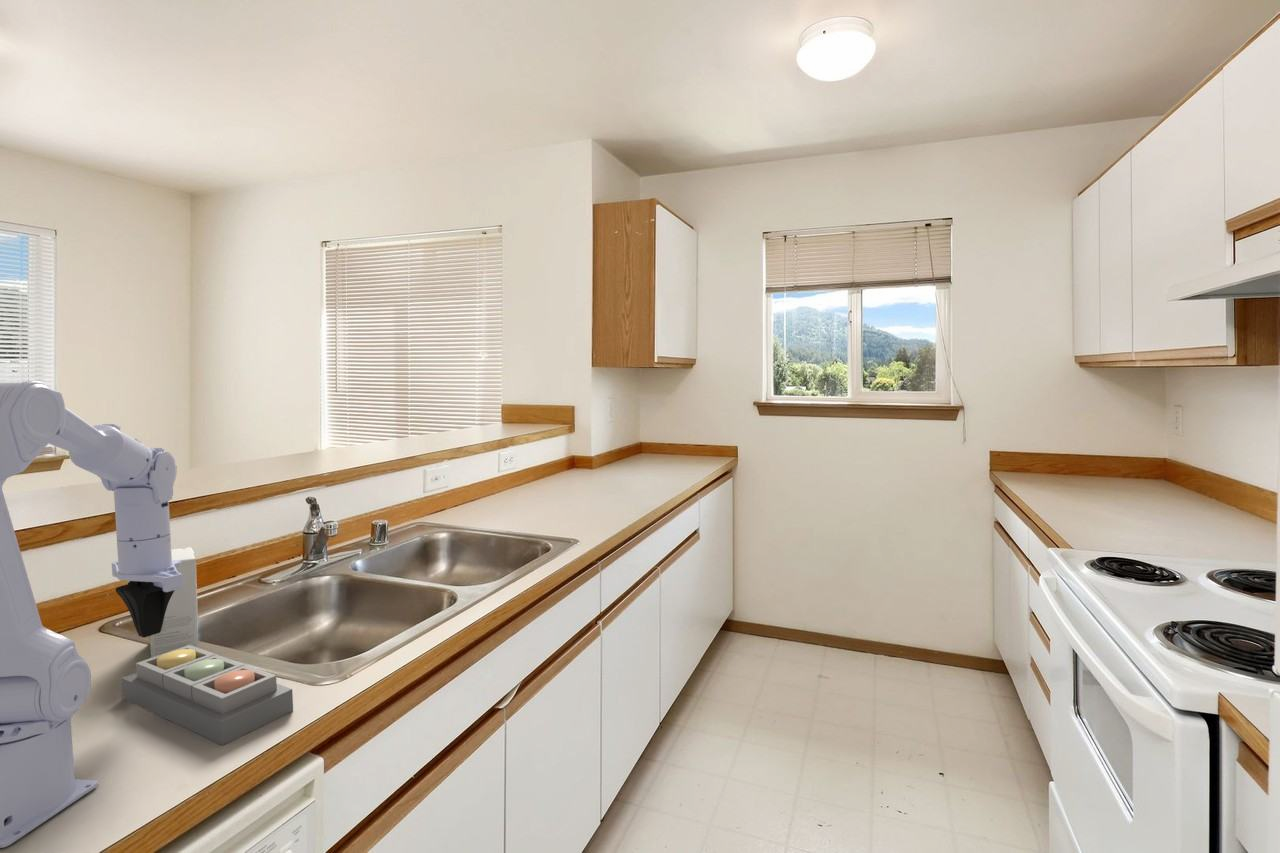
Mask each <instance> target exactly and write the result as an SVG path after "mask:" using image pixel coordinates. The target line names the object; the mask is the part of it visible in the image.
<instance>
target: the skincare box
mask: <svg viewBox="0 0 1280 853" xmlns="http://www.w3.org/2000/svg"><path fill="white" fill-rule="evenodd" d="M171 553H172V561H173V560H177V561H181V562H182V566H181V567H178V568H176V569H177V571H178V572H179V573H181V574H183V588H181V589H177V590H175V591H174V593H173V594H172V596H171V598H170V600H169V603H168V606H167V609H166V612H165V616H164V621H163V625H162V629H161V632H160V633H158V634H154V635H151V636H149V648H150V649H149V650H150V658H153V657H155V656H158V655H161V654H164V653H167V652H170V651H173V650H176V649H179V648H182V647H185V646H188V645H192V646H195V647H197V648H199V632H198V630H199V627H198V625H199V624H198V623H199V621H198V619H199V618H198V586H197V585H198V584H197V560H196V556H195V554H196V552H195V550H194V549H193V548H192V547H191V546H188V547H182V548H181V547H180V548H173V549H172V548H171Z"/></svg>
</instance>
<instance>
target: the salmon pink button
mask: <svg viewBox="0 0 1280 853" xmlns="http://www.w3.org/2000/svg"><path fill="white" fill-rule="evenodd" d="M253 682H255V677H254V672H253V671H251V670H238V671H233V672H229V673H226V674H224V675H221V676H220V677H218V678H217V679H216V680H215V681H214V687H215V690H216V691H219V692H221V693H224V694H227V693H229V692H231V691H234V690H236V689H238V688H241V687H243V686H246V685H248V684H250V683H253Z"/></svg>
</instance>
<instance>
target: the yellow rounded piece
mask: <svg viewBox="0 0 1280 853" xmlns="http://www.w3.org/2000/svg"><path fill="white" fill-rule="evenodd" d="M195 659H196V651H195V650H192V649H182V650H176V651H172V652H169V653H166V654H163V655H161V656H160V657H158V658H157V667H159V668H162V669H164V670H167V669H170V668H173V667H175V666H178V665H181V664H184V663H186V662H189V661H192V660H195Z"/></svg>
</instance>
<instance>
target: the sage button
mask: <svg viewBox="0 0 1280 853" xmlns="http://www.w3.org/2000/svg"><path fill="white" fill-rule="evenodd" d="M223 670H224V661H223V660H220V659H209V660H204V661H200V662H196V663H194V664H192V665H190V666H188V667H187V668H185V670H184V672H185V678H187V679H189V680H192V681H197V680H200V679H202V678H205V677H207V676H210V675H212V674H215V673H218V672H220V671H223Z"/></svg>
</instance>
